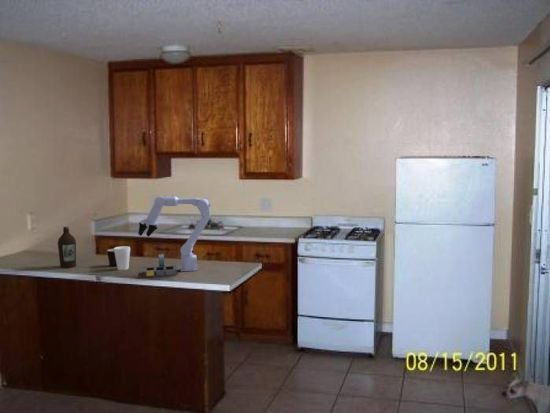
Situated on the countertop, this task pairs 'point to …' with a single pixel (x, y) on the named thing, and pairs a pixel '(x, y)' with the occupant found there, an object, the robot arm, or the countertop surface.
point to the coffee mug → (112, 258)
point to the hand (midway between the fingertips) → (143, 235)
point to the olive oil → (67, 249)
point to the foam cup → (122, 257)
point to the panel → (161, 260)
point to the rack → (159, 271)
